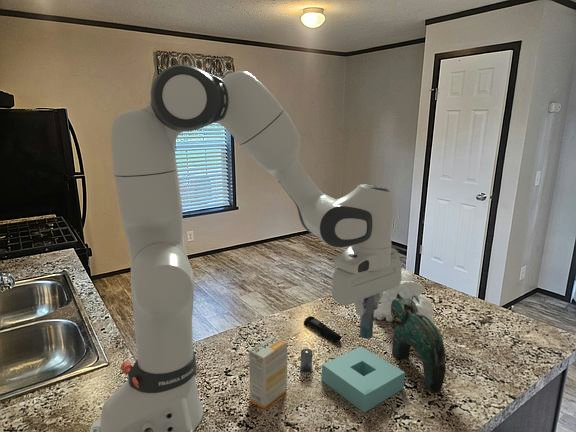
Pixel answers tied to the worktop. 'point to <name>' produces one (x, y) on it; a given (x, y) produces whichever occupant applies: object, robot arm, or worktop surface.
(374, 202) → the robot arm
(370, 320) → the long pin
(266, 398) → the supplement box
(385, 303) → the white lumpy sculpture
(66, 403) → the worktop surface
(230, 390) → the worktop surface
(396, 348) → the ceramic cat
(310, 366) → the short pin
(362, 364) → the hole block
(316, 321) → the electric trimmer
